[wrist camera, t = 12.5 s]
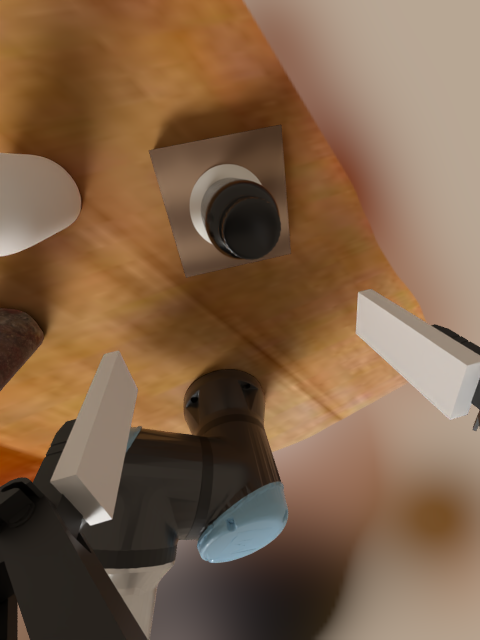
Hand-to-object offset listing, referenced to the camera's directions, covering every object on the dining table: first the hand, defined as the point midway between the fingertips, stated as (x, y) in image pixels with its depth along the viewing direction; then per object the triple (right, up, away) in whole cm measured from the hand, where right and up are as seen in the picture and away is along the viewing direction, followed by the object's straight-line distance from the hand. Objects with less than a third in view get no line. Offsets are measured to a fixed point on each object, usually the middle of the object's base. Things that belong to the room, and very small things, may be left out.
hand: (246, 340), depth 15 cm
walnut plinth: (-2, +16, +20) cm, 26 cm away
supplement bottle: (-2, +14, +17) cm, 22 cm away
